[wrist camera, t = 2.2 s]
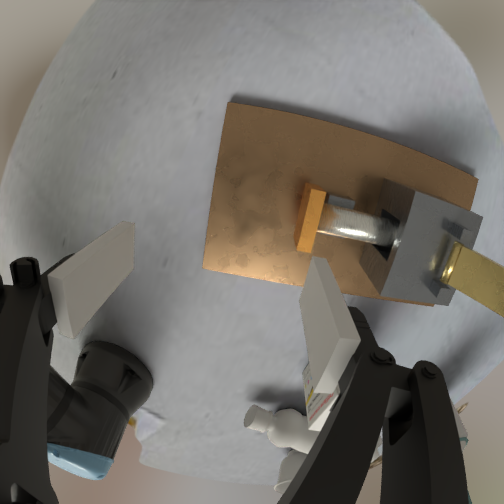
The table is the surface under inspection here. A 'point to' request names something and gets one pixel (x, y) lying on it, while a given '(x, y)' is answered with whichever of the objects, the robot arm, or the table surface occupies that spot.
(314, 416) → the ink box
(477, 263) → the tab
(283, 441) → the bottle
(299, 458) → the teacup
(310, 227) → the lynch pin
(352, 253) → the block
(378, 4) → the table surface
